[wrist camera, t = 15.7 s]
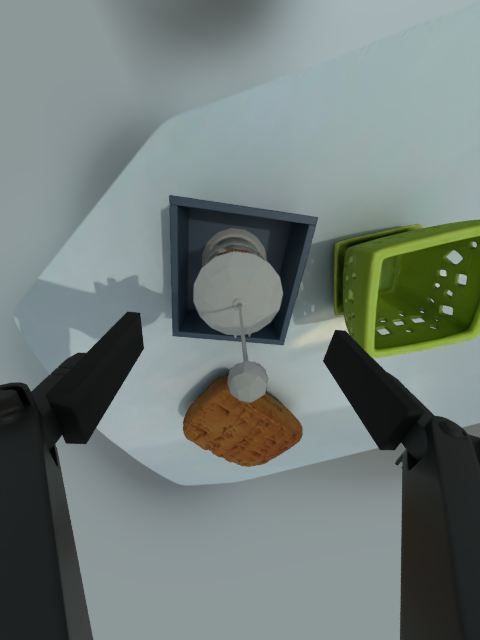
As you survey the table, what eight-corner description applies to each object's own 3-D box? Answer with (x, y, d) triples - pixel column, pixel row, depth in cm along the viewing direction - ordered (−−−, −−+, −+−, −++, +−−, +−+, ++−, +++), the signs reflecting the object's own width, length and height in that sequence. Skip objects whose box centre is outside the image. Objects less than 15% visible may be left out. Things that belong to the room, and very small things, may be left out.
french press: (266, 224, 29) (393, 268, 6) (268, 301, 34) (342, 469, 12) (195, 231, 29) (82, 301, 6) (209, 307, 34) (173, 486, 12)
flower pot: (417, 213, 30) (532, 214, 19) (402, 300, 36) (481, 340, 25) (320, 235, 31) (374, 250, 19) (323, 317, 37) (364, 363, 26)
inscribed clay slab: (300, 407, 48) (313, 442, 41) (249, 443, 53) (252, 478, 46) (229, 358, 40) (229, 389, 33) (177, 405, 46) (168, 441, 39)
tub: (184, 199, 28) (169, 195, 21) (296, 216, 29) (318, 217, 22) (183, 311, 35) (172, 336, 28) (273, 319, 37) (283, 345, 30)
